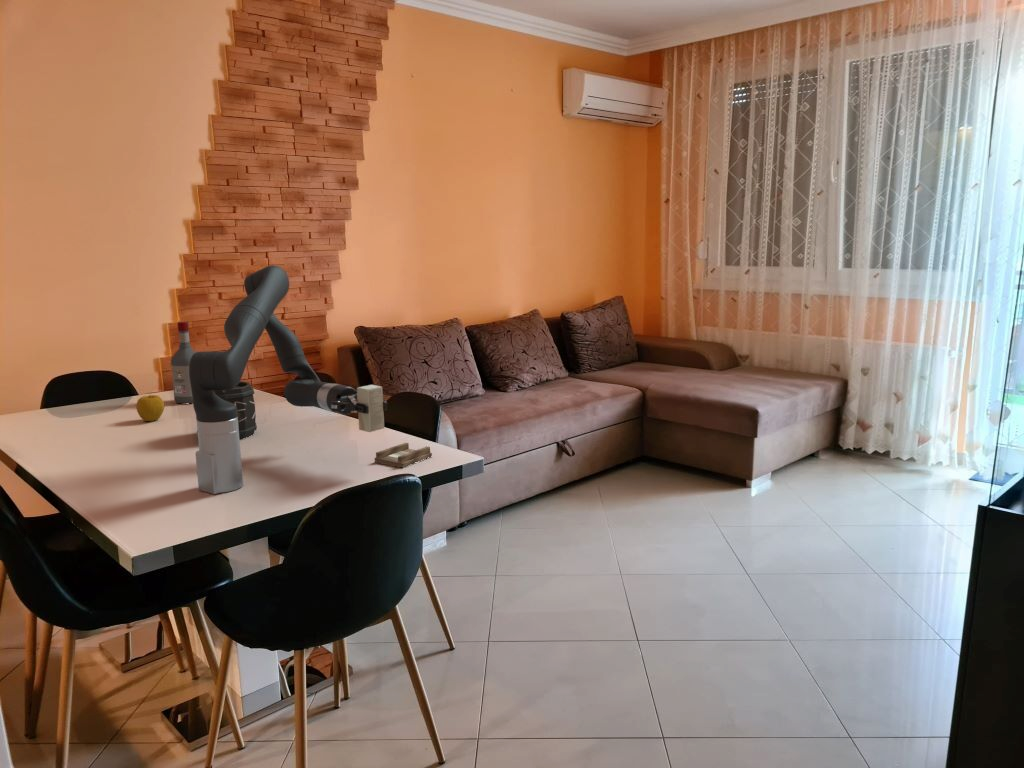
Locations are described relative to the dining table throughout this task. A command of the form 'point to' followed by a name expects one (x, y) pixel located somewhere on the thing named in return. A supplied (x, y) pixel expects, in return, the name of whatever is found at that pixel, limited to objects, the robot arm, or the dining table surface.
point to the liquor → (182, 366)
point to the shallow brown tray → (402, 455)
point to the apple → (150, 407)
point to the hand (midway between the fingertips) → (376, 407)
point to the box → (371, 408)
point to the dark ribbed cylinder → (242, 407)
